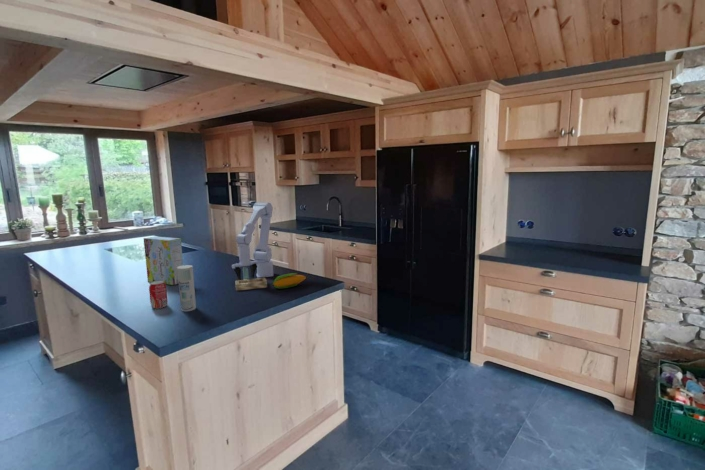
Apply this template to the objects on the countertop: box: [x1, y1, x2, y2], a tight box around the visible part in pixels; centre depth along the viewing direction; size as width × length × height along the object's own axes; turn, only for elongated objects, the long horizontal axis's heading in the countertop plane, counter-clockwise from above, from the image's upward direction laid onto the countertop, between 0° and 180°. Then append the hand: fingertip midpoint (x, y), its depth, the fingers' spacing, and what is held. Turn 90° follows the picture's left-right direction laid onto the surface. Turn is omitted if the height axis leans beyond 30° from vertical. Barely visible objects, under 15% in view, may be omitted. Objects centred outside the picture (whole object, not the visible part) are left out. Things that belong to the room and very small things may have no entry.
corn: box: [272, 272, 307, 290], centre depth 203 cm, size 7×8×20 cm
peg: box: [242, 266, 250, 280], centre depth 209 cm, size 3×3×9 cm
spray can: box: [177, 264, 197, 312], centre depth 170 cm, size 6×6×20 cm
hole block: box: [234, 277, 268, 291], centre depth 203 cm, size 16×8×4 cm, turn 110°
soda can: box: [148, 280, 168, 310], centre depth 174 cm, size 7×7×12 cm
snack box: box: [143, 236, 184, 286], centre depth 213 cm, size 22×9×26 cm, turn 65°
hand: (246, 278), depth 209 cm, fingers open, 7 cm apart
